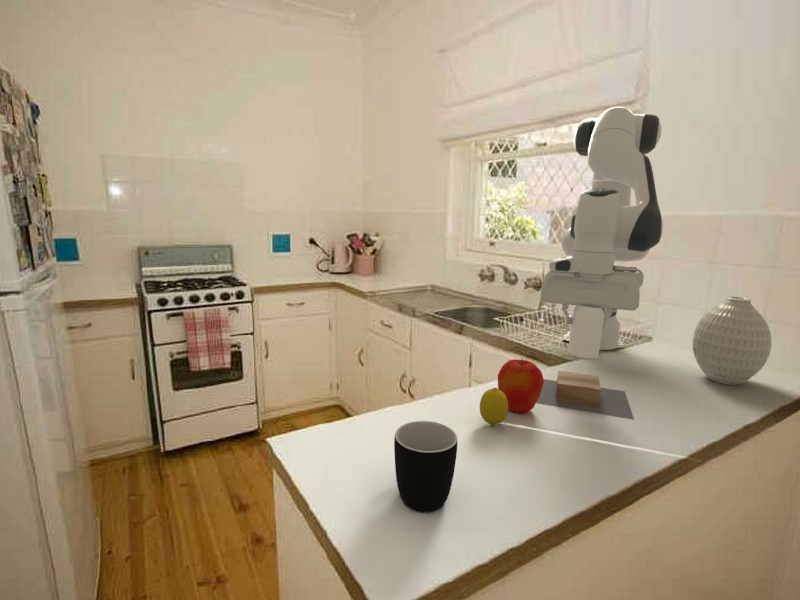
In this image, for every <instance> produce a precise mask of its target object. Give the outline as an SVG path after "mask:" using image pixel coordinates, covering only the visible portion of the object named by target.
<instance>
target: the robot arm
mask: <svg viewBox="0 0 800 600" xmlns="http://www.w3.org/2000/svg"><path fill="white" fill-rule="evenodd" d="M661 136H662V124H661V121H660V117H658V115H656V114H652V113H643V114H641V113H640V114H639V113H634V112H632V110H630V109H628V108H626V107H623V106H615V107H610V108H608V109H607V110H605V111H604V112H602V113H601V114H600V115H599V117H597V118H596V117H595V118H594V117H590V118H586V119H583V120H582V121H580V123H579V124H577V128H576V129H575V132H574V136H573V144H574V148H575V151H576V153H577V154H578V155H579V156H583V157H587V163H588V167H589V168H590V170H591V171H592V172H593V173H592V174H593V175H592V182H591V188H589V189H586V190H584V191H581V194H580V196H579V200H578V203H577V208H576V212H575V213H574V214H573V215H572V216H571V224H570V227H569V228H567V229H566V230H565V232H564V233H563V236H562V238H561V247H562V251H563V253H564V254H565V256H562V257H558V258H554V259H551V260H550V261H549V264H548V268H549V270H548V271H547V272H546V273H545V276H544V278H543V281H542V285H541V289H540V296H539V299H540V300H541V302H542V303H545V304H546V303H547V304H555V305H556V304H560V305H561V311H562V313H563V314H564V316H565V320H564V321H565V323H564V324H565V325H568V326H570V327H568V332H567V333H566V334H564V336H563V337H562V339H563V338H567V337H569V338H570V332H571V325H572V320H573V315H572V314H571V315H569V312H568V310H569V307H570V306H571V305H572V306H576V305H578V306H579V305H580V304H581V305H585V306H592V307H602V308H603V309H604V312H605V316H604V321H603V330H602V336H601V343H600V349H599V351H601V350H605V351H607V350H608V351H609V350H614V349H623V348H624V347H625V344H624V343H623V342H622V341H621V340H620V330H621V322H620V321H619V319H618V318H617V316H616V315H618V314H617V312H618V310H623V311H636V310H637V309H638V308H640V307H639V306H640V297H641V296H640V293H641V292H640V288H641V287H642V286H643V283H644V280H645V279H644V278H645V276H644V272H643V271H642V270H641V269H638V268H637V267H634V266H622V265H615V262H621V263H623V262H625V263H627V262H636V261H641V260H643V259H644V258H645V257H647V255H648V254H649V252H650V250H651V249H653V248H654V247H655V246H657V245H658V244H659V243H660V242H661V238H662V236H663V233H664V221H663V216H662V213H661V208H660V206H659V202H658V197H657V195H658V194H657V189H656V184H655V183H656V182H655V178H654V173H653V172H654V171H653V167H652V163H651V160H650V158H649V157H648V156H647V154H649V153H651V152H652V151H654V150H655V149H656V146H657V144H658V143H659V141H660V140H661ZM632 190H633V191H634V195H635V205H633V206H632V205H631V193H632Z"/></svg>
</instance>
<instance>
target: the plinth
mask: <svg viewBox="0 0 800 600" xmlns="http://www.w3.org/2000/svg"><path fill="white" fill-rule="evenodd" d="M556 381H557V386H556V400H559V401H565V402H571V403H577V404H583V405H589V406H595V407H599V402H600V394H601V388H602V387H601V383H600V378H599V376H598V375H592V374H586V373H578V372H570V371H564V370H558V371H557V378H556Z"/></svg>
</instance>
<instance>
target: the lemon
mask: <svg viewBox="0 0 800 600" xmlns="http://www.w3.org/2000/svg"><path fill="white" fill-rule="evenodd" d="M479 412H480V413H479V414H480V416H481V418H482V419H483V420H484V422H485V423H488V424H489V425H490V426H492V427H494V426H496V425H499V424H501V423H503V422H504V421H505V420H506V419H507V416H508V412H509V408H508V400H507V397H506V396H505V394H504V393H503V392H502V391H500V390H498V387H493V388H490V389H487V390H486V391H485V392H484V393H483V394H482V396H481V398H480V402H479Z"/></svg>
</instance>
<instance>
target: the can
mask: <svg viewBox="0 0 800 600" xmlns="http://www.w3.org/2000/svg"><path fill="white" fill-rule="evenodd" d="M572 316H573V320H572V325H571V332H570V340H569V342H568V347H567V352H568V354H569V355H570V356H572V357H574V358H577V359H582V360H596V359H597V358H599V354H600V343H601V336H602V330H603V321H604V316H605V312H604V309H603V308H602V307H592V306H585V305H581V304H580V305H579V306H578V305H575V307H574V308H573V313H572Z"/></svg>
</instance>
